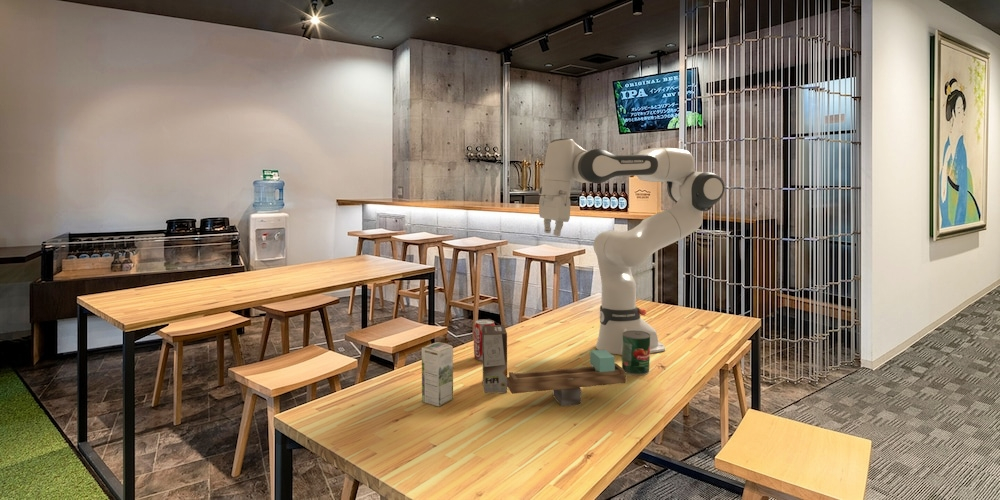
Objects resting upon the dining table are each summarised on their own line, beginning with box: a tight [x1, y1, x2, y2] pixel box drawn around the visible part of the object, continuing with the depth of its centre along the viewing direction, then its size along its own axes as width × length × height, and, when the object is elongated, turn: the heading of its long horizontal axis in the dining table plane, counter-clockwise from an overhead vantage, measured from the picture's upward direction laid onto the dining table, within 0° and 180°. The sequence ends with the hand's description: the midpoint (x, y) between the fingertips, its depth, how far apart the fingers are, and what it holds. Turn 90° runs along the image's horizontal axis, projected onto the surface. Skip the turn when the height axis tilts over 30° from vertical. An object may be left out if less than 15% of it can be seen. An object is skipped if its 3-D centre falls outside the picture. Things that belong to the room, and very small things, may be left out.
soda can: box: [473, 318, 496, 362], centre depth 169 cm, size 7×7×12 cm
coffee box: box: [482, 324, 508, 394], centre depth 145 cm, size 9×6×16 cm
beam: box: [507, 362, 627, 407], centre depth 136 cm, size 30×7×8 cm, turn 102°
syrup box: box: [421, 341, 454, 407], centre depth 136 cm, size 6×6×14 cm
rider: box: [589, 349, 616, 372], centre depth 137 cm, size 4×6×5 cm, turn 12°
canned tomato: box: [621, 330, 651, 376], centre depth 157 cm, size 8×8×11 cm
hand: (551, 234), depth 169 cm, fingers open, 8 cm apart
